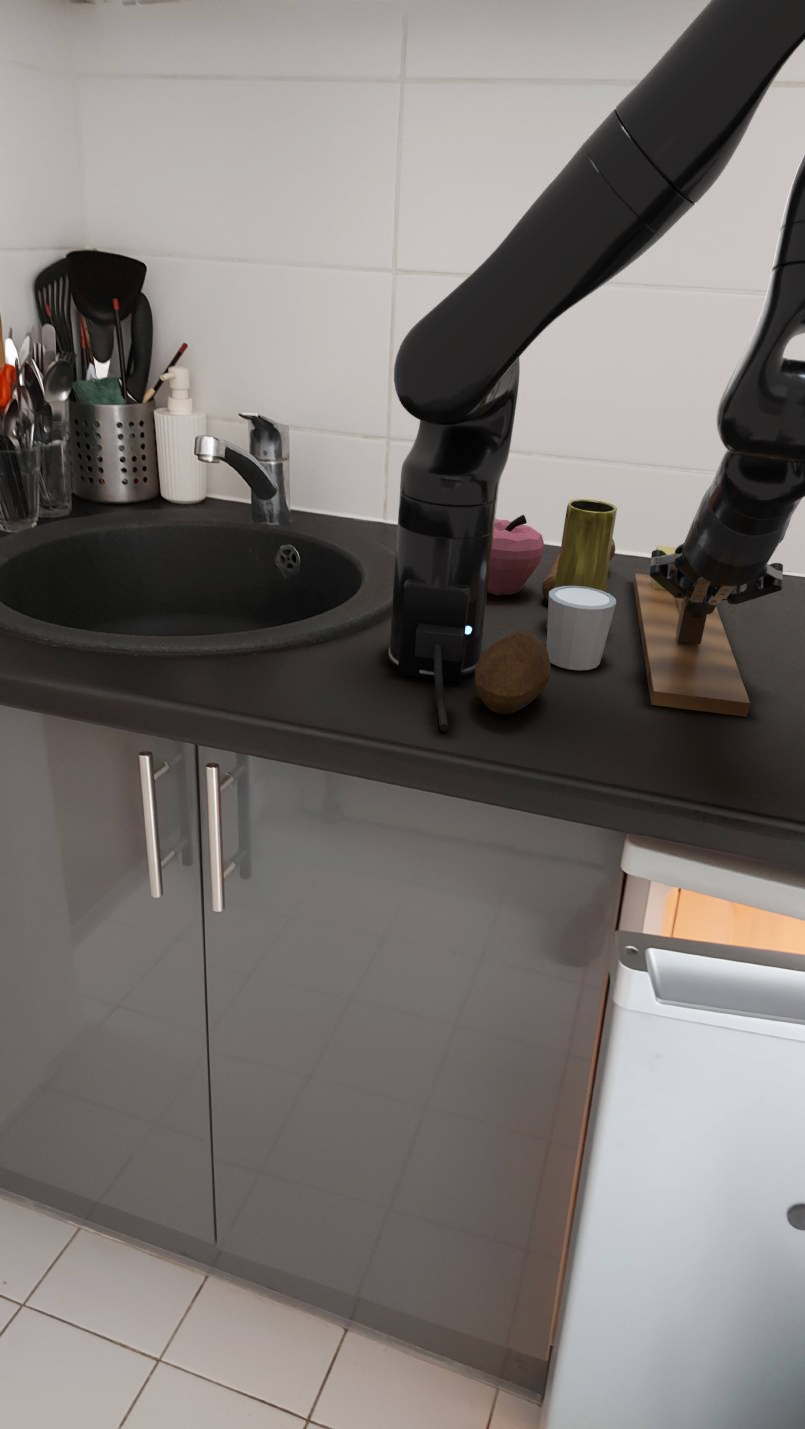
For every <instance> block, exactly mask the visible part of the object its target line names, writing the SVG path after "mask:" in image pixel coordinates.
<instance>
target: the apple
mask: <svg viewBox="0 0 805 1429" xmlns="http://www.w3.org/2000/svg"><path fill="white" fill-rule="evenodd" d="M527 523H528V522H527V518H526V516H525V515H524V514H522V515H520V516H518V517H516V518H515V519H513V520H512V521H510V520H509V519H498V518H495V527H494V534H493V543H492V553H491V562H490V571H489V580H488V590H487V594H489V595H494V596H497V597H498V596H499V597H500V596H511V595H515V594H516V593H519V592H520V591H521V590H522V588H523V587H524V586H525V584H526V583H527V581H528V579H530V577H531V576H532V575H533V573H534V572H535V570H536V569H537V567H538V566H539V565H540V563H541V561H542V558H543V555H544V552H545V541H544V538H543V535H542V533H540V532H539V531H537V530H536V529H534V528H533V527H532V526H529V525H526V524H527Z"/></svg>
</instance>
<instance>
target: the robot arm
mask: <svg viewBox="0 0 805 1429" xmlns="http://www.w3.org/2000/svg"><path fill="white" fill-rule="evenodd" d="M803 42H805V0H710V1H709V2H708V4H707V5H706V6H705V7H704V8H703V9H702V11H700V13H698V15H697V16H696V17H695V18H694V19H693V21H692V22H691V23H690V24H689V25H688V26H687V28H685V30H684V31H683V32H682V33H681V34H680V36H679V37H678V38H677V39H676V40H675V41H674V42H673V44H672V45H671V46H670V47H669V48H668V50H667V51H666V52H665V53H664V54H663V55H662V56H661V58H660V59H659V60H658V62H656V64H655V65H654V66H653V67H652V68H651V69H650V70H649V71H648V73H646V75H645V76H644V77H643V78H642V79H641V80H640V81H639V82H638V83H637V84H636V86H635V87H634V88H633V89H632V90H631V91H629V93H628V94H626V95H625V97H624V98H622V99H621V101H620V102H619V103H618V104H617V105H616V106H615V108H614V109H613V110H612V111H611V112H610V113H609V114H608V115H607V117H605V118H604V120H603V121H602V122H601V124H599V126H598V127H597V128H596V129H594V131H593V132H592V133H591V135H590V136H588V138H587V139H586V140H585V141H584V142H583V143H582V145H580V147H579V148H577V151H575V153H574V154H573V155H572V156H571V158H570V159H569V160H568V161H567V162H566V164H565V165H564V166H563V167H562V168H561V170H559V172H558V173H557V175H556V176H554V178H553V179H552V180H551V181H550V183H549V184H548V185H547V186H546V187H545V188H544V189H543V191H542V192H541V193H540V194H539V196H537V198H535V200H534V201H533V202H532V204H531V205H530V206H529V207H528V209H527V210H526V211H525V212H524V213H523V215H521V218H520V219H519V220H518V221H517V222H516V224H515V225H514V226H513V227H512V229H511V230H510V231H509V233H508V234H507V235H506V237H505V238H504V239H503V240H502V241H501V243H500V244H499V245H498V246H497V247H496V248H495V250H494V251H493V252H492V253H491V254H490V255H489V256H488V257H487V258H486V259H485V260H484V261H483V262H482V263H481V264H480V265H478V267H477V268H476V269H475V270H474V271H473V272H472V273H470V275H469V276H467V277H466V278H465V279H464V280H463V281H462V282H461V283H460V284H458V286H457V287H455V288H454V289H453V290H452V291H451V292H450V293H449V294H448V295H446V296H445V298H443V299H442V300H441V301H440V302H439V303H437V305H436V306H434V307H433V308H432V309H431V310H430V311H429V312H428V313H426V314H425V315H424V316H423V317H422V318H420V319H419V320H418V321H417V322H416V323H415V324H414V325H413V326H412V327H411V329H409V331H408V332H407V334H406V335H405V336H404V338H403V339H402V341H401V343H400V345H399V348H398V351H397V353H396V357H395V361H394V365H393V366H394V367H393V383H394V389H395V393H396V395H397V398H398V400H399V402H400V405H401V406H402V407H403V408H404V409H405V410H406V412H407V413H409V415H410V416H412V417H414V418H415V419H417V420H418V421H419V425H418V430H417V434H416V437H415V440H414V442H413V444H412V447H411V449H410V450H409V452H408V454H407V455H406V456H405V458H404V459H403V461H402V464H401V471H400V482H399V483H400V484H399V502H398V517H397V530H396V544H395V558H394V559H395V560H394V576H393V589H392V590H393V592H392V606H391V620H390V621H391V622H390V623H391V624H390V640H389V648H388V654H387V655H388V656H387V658H388V662H389V663H390V664H391V665H392V666H393V668H395V669H396V670H397V675H399V676H407V677H414V678H422V679H431V680H434V689H435V699H436V700H435V701H436V709H437V718H438V724H439V729H440V731H441V732H446V731H447V730H448V729H449V722H448V715H447V707H446V699H445V691H444V690H445V689H444V681H446V682H447V681H448V682H456V683H459V682H461V680H462V678H464V677H467V676H470V675H472V674H475V668H476V665H477V663H478V660H479V658H480V656H481V655H482V646H483V636H484V626H485V617H486V608H487V598H488V597H487V596H488V593H487V590H488V580H489V571H490V562H491V553H492V543H493V534H494V527H495V519H496V518H497V507H498V497H499V490H500V483H501V480H502V476H503V474H504V471H505V468H506V466H507V463H508V460H509V455H510V451H511V450H510V449H511V443H512V439H513V438H512V437H513V429H514V424H515V423H514V422H515V418H516V417H515V416H516V410H517V403H518V394H519V385H520V374H521V373H520V370H521V365H520V363H521V362H520V357H521V356H522V354H524V352H525V351H527V349H528V348H529V346H531V344H532V343H534V341H535V340H536V339H537V338H538V337H539V336H540V335H541V334H542V333H543V332H544V331H545V330H546V329H547V328H548V327H549V326H551V324H553V323H554V321H555V320H557V319H558V318H559V317H561V316H562V315H563V314H564V313H566V312H567V311H568V310H570V309H571V308H572V307H574V306H576V304H578V303H579V302H581V301H583V300H584V299H585V298H587V297H588V296H589V295H591V294H592V293H594V292H595V291H597V290H599V288H601V287H603V286H604V285H605V284H607V283H608V282H610V280H612V279H614V278H615V277H617V275H619V274H621V272H623V271H624V270H625V269H627V268H628V267H629V266H630V265H631V264H633V263H634V262H635V261H637V260H638V259H639V258H640V257H641V256H643V255H644V254H645V253H646V252H647V251H649V250H650V249H651V248H652V247H653V246H654V245H655V244H656V243H658V242H659V241H660V240H661V239H662V238H663V237H664V236H665V235H666V234H667V233H669V231H670V230H671V229H673V227H674V226H676V224H677V223H678V222H680V221H681V219H683V218H684V216H685V215H686V214H688V213H689V211H690V210H691V209H692V208H693V207H695V205H696V204H698V203H699V202H700V201H701V199H702V198H703V197H704V196H705V195H706V194H707V193H708V191H709V190H711V188H712V187H713V186H714V184H715V183H717V181H718V179H719V178H720V177H721V175H722V174H723V172H724V170H725V169H726V168H727V166H728V165H729V162H730V161H731V159H732V157H733V156H734V154H735V153H736V150H737V149H738V147H739V145H740V143H741V142H742V140H743V138H744V136H745V134H746V132H747V130H748V128H749V127H750V126H751V125H750V124H751V123H752V121H753V119H754V117H755V115H756V113H757V111H758V109H759V107H760V105H761V103H762V101H763V99H764V97H765V96H766V93H767V91H769V88H770V87H771V86H772V83H773V82H774V81H775V79H776V77H777V76H778V75H779V73H780V71H781V70H782V69H783V67H784V65H786V63H787V62H788V61H789V59H790V58H791V56H792V55H793V54H794V53H795V52H796V50H797V49H798V48H799V47H800V46H801V45H802V44H803ZM795 172H796V173H795V174H794V178H793V179H792V183H791V186H790V188H789V192H788V194H787V199H786V203H785V206H784V210H783V214H782V218H781V222H780V227H779V233H778V237H777V238H778V239H777V243H776V246H775V252H774V258H773V263H772V268H771V272H770V277H769V282H768V286H767V291H766V293H765V297H764V301H763V303H762V306H761V309H760V313H759V316H758V318H757V321H756V323H755V325H754V328H753V330H752V333H751V335H750V338H749V340H748V342H747V344H746V346H745V347H744V350H743V353H742V354H741V356H740V358H739V360H738V362H737V364H736V366H735V368H734V369H733V372H732V374H731V376H730V377H729V380H728V381H727V383H726V386H725V388H724V390H723V393H722V395H721V397H720V400H719V403H718V406H717V411H716V430H717V433H718V436H719V439H720V441H721V443H722V445H723V446H724V448H725V449H726V451H725V452H724V454H723V456H722V458H721V460H720V463H719V466H718V467H717V470H716V472H715V475H714V477H713V479H712V482H711V484H710V486H709V487H708V488H707V489H706V490H705V493H704V494H703V496H702V498H701V500H700V503H699V505H698V508H697V510H696V513H695V515H694V518H693V520H692V522H691V525H690V527H689V530H688V532H687V535H686V536H685V540H684V542H683V543H681V544H679V545H678V546H677V547H675V548H676V550H675V553H674V554H669V555H667V554H666V553H665V552H664V551H662V550H656V549H654V550H652V551H651V556H650V563H649V575H650V576H651V577H652V578H653V579H654V580H655V581H656V582H657V583H659V584H660V585H661V586H662V587H663V588H664V589H666V590H667V591H668V592H669V593H670V594H671V595H673V596H674V597H675V598H685V597H686V599H685V611H686V612H690V614H689V616H690V617H698V618H704V617H705V615H706V614H711V613H713V611H714V609H715V607H716V608H717V606H718V605H720V604H721V603H722V601H727V602H726V603H727V604H729V605H734V606H735V605H740V604H742V603H745V602H749V601H751V600H755V599H758V598H762V597H764V596H767V595H770V594H774V593H777V592H780V591H782V589H783V577H784V575H783V574H784V565H783V563H780V562H773V563H770V564H768V563H769V561H770V559H771V558H772V556H773V554H774V553H775V551H776V549H778V548H777V547H778V546H779V544H781V543H782V541H783V540H784V538H785V536H786V533H787V530H788V528H789V525H790V523H791V520H792V516H793V515H794V513H795V511H796V510H797V508H798V506H799V505H800V502H801V501H802V499H803V498H805V360H804V359H796V358H795V359H794V358H787V357H784V353H785V350H786V349H787V346H788V344H789V343H790V341H791V340H792V339H793V338H796V336H800V335H804V334H805V153H804V154H803V156H802V158H801V160H800V162H799V165H798V167H797V169H796V171H795ZM744 585H745V586H746V588H745V590H742V586H744Z"/></svg>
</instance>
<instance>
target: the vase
mask: <svg viewBox="0 0 805 1429" xmlns="http://www.w3.org/2000/svg"><path fill="white" fill-rule="evenodd" d="M617 512H618V508H617V506H615V505H614V504H612V503H610V502H606V501H603V500H597V499H588V498H578V499H572V500H570V501H568V502H567V505H566V510H565V517H564V523H563V525H564V526H563V532H562V536H561V545H560V552H559V554H560V557H559V563H558V569H557V575H556V580H555V587H554V588H557V587H561V586H582V587H589V588H594V589H598V590H601V591H604V592H606V593H607V584H608V576H609V568H610V562H611V560H610V552H611V545H612V537H613V536H614V531H615V524H616V517H617ZM609 561H610V562H609ZM546 622H547V623H546V629H547V627H548V621H546Z"/></svg>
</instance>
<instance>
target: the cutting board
mask: <svg viewBox="0 0 805 1429" xmlns="http://www.w3.org/2000/svg"><path fill="white" fill-rule="evenodd" d="M632 586H633V592H634V600H635V604H636V605H635V606H636V612H637V620H638V626H639V633H640V639H641V646H642V653H643V659H644V666H645V673H646V680H647V686H648V694H649V699H650V705H651V706H657V707H665V708H673V709H681V710H688V711H689V710H690V711H697V712H705V713H713V714H721V715H729V716H738V717H745V718H747V717H748V715H749V710H750V706H751V701H750V699H749V698H750V697H749V696H748V693H747V690H746V688H745V685H744V682H743V679H742V675H741V673H740V671H739V667H738V664H737V662H736V659H735V656H734V653H733V650H732V648H731V645H730V641H729V639H728V636H727V632H726V631H725V628H724V625H723V622H722V619H721V616H720V613H719V611H718V607H717V606H716V607H715V609H714V611H713V613H711V614H707V617H706V622H705V627H704V631H703V636H702V641H701V644H694V643H686V642H678V640H677V635H676V631H677V626H678V621H679V616H680V612H679V608H678V604H677V600H676V598H675V597H674V596H673V595H671V594H670V593H669V592H668V591H667V590H660V589H654V586H653V581H652V577H651V576H650V574H645V573H637V572H636V573H635V572H634V578H633V582H632Z"/></svg>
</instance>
